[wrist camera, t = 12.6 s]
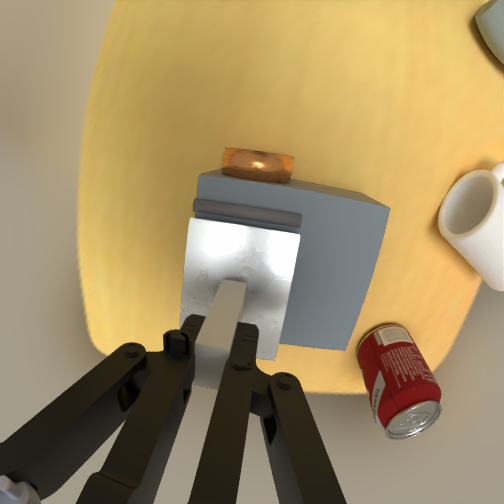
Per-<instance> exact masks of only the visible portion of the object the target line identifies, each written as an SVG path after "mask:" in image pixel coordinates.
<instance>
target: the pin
mask: <svg viewBox="0 0 504 504" xmlns="http://www.w3.org/2000/svg"><path fill="white" fill-rule="evenodd" d="M293 162H294V157H291V156H285V155H279V154H273V153H266V152H260V151H252V150H244V149H236V148H227V147H225V150H224V158H223V166H222V174H223V175H226V176H230V177H234V178H240V179H246V180H252V181H259V182H267V183H278V184H290V181H291V175H292V168H293Z"/></svg>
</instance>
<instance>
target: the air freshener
mask: <svg viewBox="0 0 504 504" xmlns="http://www.w3.org/2000/svg"><path fill="white" fill-rule="evenodd" d="M475 19H476V23H477V26H478V28H479V31H480V33H481V35H482V37H483V39H484V41H485V42H486V44H487V45H488V47H489V48H490V50H491V51H492V52H493V54H494V55H495V56H496V57H497V58H498V60H500V61H501V62H502V63H503V64H504V0H490V1H488V2H487V3H486V4H485V5H484V6H483V7H482V8H481V9H480V10H479V11H478V12H477V13H476V15H475Z"/></svg>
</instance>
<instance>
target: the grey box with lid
mask: <svg viewBox="0 0 504 504" xmlns="http://www.w3.org/2000/svg"><path fill="white" fill-rule="evenodd" d="M193 212H195V217H196V218H203V219H210V220H217V221H223V222H230V223H237V224H243V225H249V226H256V227H262V228H268V229H274V230H281V231H287V232H293V233H299V234H300V238H299V244H298V250H297V255H296V261H295V266H294V271H293V277H292V282H291V287H290V292H289V297H288V302H287V307H286V312H285V317H284V321H283V326H282V331H281V335H280V340H279V343H280V344H288V345H295V346H303V347H312V348H321V349H331V350H342V351H345V350H346V348H347V345H348V343H349V340H350V338H351V335H352V332H353V330H354V327H355V325H356V322H357V319H358V316H359V314H360V311H361V308H362V305H363V302H364V299H365V296H366V293H367V290H368V287H369V284H370V281H371V278H372V275H373V272H374V268H375V265H376V261H377V258H378V255H379V251H380V247H381V244H382V240H383V236H384V232H385V228H386V224H387V220H388V216H389V212H390V208H389V207H387V206H385V205H383V204H381V203H380V202H378V201H376V200H374V199H372V198H370V197H368V196H366V195H364V194H361V193H357V192H352V191H348V190H343V189H338V188H334V187H329V186H324V185H318V184H313V183H308V182H302V181H297V180H291V181H290V184H278V183H267V182H259V181H252V180H246V179H240V178H234V177H230V176H226V175H223V174H222V169H219V170H215V171H211V172H208V173H204V174H200V175H199V180H198V189H197V198H195V200H194V202H193Z"/></svg>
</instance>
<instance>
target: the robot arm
mask: <svg viewBox="0 0 504 504" xmlns="http://www.w3.org/2000/svg"><path fill="white" fill-rule="evenodd" d="M245 290H246V283H243V282H237V281H232V280H226V279H223V280H222V282H221V284H220V286H219V289H218V291H217V293H216V295H215V298H214V300H213V302H212V304H211V307H210V309H209V311H208V314H207V316H202V315H197V314H191V315H189V316H188V317H186V319H185V320H184V322H183V324H182V326H181V328H180V330H177V329H175V330H170V331H167V332H166V333H165V334H164V335H163V344H164V350H163V351H159V352H146V349H145V348H144V346H142V345H141V344H138V343H133V342H130V343H125V344H123V345H122V346H120V347H119V348H118V349H116V350H115V351H114V352H113V353H111V354H110V355H109V356H108V357H107V358H106V359H104V360H103V361H102V362H100V363H99V364H98V365H97V366H95V367H94V368H93V369H92V370H90V371H89V372H88V373H87V374H85V375H84V376H83V377H82V378H81V379H80V380H78V381H77V382H76V383H74V384H73V385H72V386H71V387H69V388H68V389H67V390H66V391H65V392H63V393H62V394H61V395H60V396H58V397H57V398H56V399H55V400H54V401H52V402H51V403H50V404H49V405H47V406H46V407H45V408H44V409H43V410H41V411H40V412H39V413H38V414H37V415H35V416H34V417H33V418H32V419H31V420H29V421H28V422H27V423H26V424H24V425H23V426H22V427H21V428H20V429H18V430H17V431H16V432H15V433H14V434H12V435H11V436H10V437H9V438H8V439H6V440H5V441H4V442H2V443H0V504H41V500H43V499H45V498H47V497H49V496H50V495H52V494H53V493H55V492H56V491H57V490H58V489H59V488H60V487H61V486H62V485H63V484H64V483H65V482H66V481H67V480H68V479H69V478H70V477H71V476H72V475H73V474H74V473H75V472H76V471H77V470H78V469H79V468H80V467H81V466H82V465H83V464H84V463H85V462H86V461H87V460H88V459H89V458H90V457H91V456H92V454H94V453H95V451H96V450H97V449H98V448H99V447H100V446H101V445H102V444H103V443H104V442H105V441H106V440H107V439H108V438H109V437H110V436H111V435H112V434H113V433H114V432H115V431H116V429H117V428H118V427H119V426H120V425H121V424H122V423H123V422H124V421H125V420H126V421H125V423H124V425H123V427H122V428H121V430H120V433H119V434H118V436H117V438H116V440H115V442H114V444H113V446H112V448H111V450H110V452H109V454H108V456H107V458H106V460H105V462H104V465H103V466H102V468H101V470H100V471H99V472H96V473H93V474H92V475H90V477H89V478H88V480H87V482H86V484H85V486H84V488H83V490H82V492H81V494H80V496H79V498H78V500H77V502H76V504H153V503H154V500H155V497H156V494H157V491H158V488H159V485H160V482H161V479H162V476H163V473H164V470H165V467H166V464H167V461H168V458H169V455H170V452H171V450H172V447H173V444H174V441H175V438H176V435H177V432H178V429H179V427H180V423H181V421H182V418H183V415H184V412H185V409H186V406H187V403H188V401H189V398H190V395H191V388H192V382H193V380H194V385H197V386H202V387H206V388H211V389H216V390H218V393H217V397H216V401H215V405H214V408H213V412H212V416H211V420H210V424H209V427H208V431H207V435H206V438H205V442H204V446H203V450H202V454H201V457H200V461H199V465H198V468H197V472H196V476H195V480H194V483H193V487H192V491H191V495H190V498H189V502H188V503H187V504H236V498H237V493H238V486H239V480H240V474H241V467H242V460H243V453H244V447H245V440H246V432H247V426H248V418H249V412H251V413H253V414H255V415H258V416H260V422H261V426H262V431H263V435H264V440H265V444H266V449H267V452H268V457H269V462H270V466H271V470H272V475H273V479H274V483H275V487H276V491H277V496H278V500H279V504H347V503H346V501H345V498H344V495H343V493H342V490H341V488H340V485H339V483H338V480H337V477H336V475H335V472H334V470H333V467H332V465H331V462H330V459H329V457H328V454H327V452H326V449H325V446H324V444H323V441H322V439H321V436H320V433H319V431H318V428H317V426H316V423H315V421H314V418H313V415H312V413H311V410H310V408H309V405H308V402H307V400H306V397H305V395H304V392H303V389H302V387H301V384H300V382H299V380H298V379H297V377H295V376H294V375H292V374H289V373H285V372H279V373H275V374H274V375H272V376H271V375H268V374H266V373H264V372H262V371H261V370H260V369H259V368H258V367H257V365H256V354H257V346H258V337H259V329H258V327H257V325H255V324H249V323H243V322H241V318H242V311H243V304H244V297H245Z"/></svg>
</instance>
